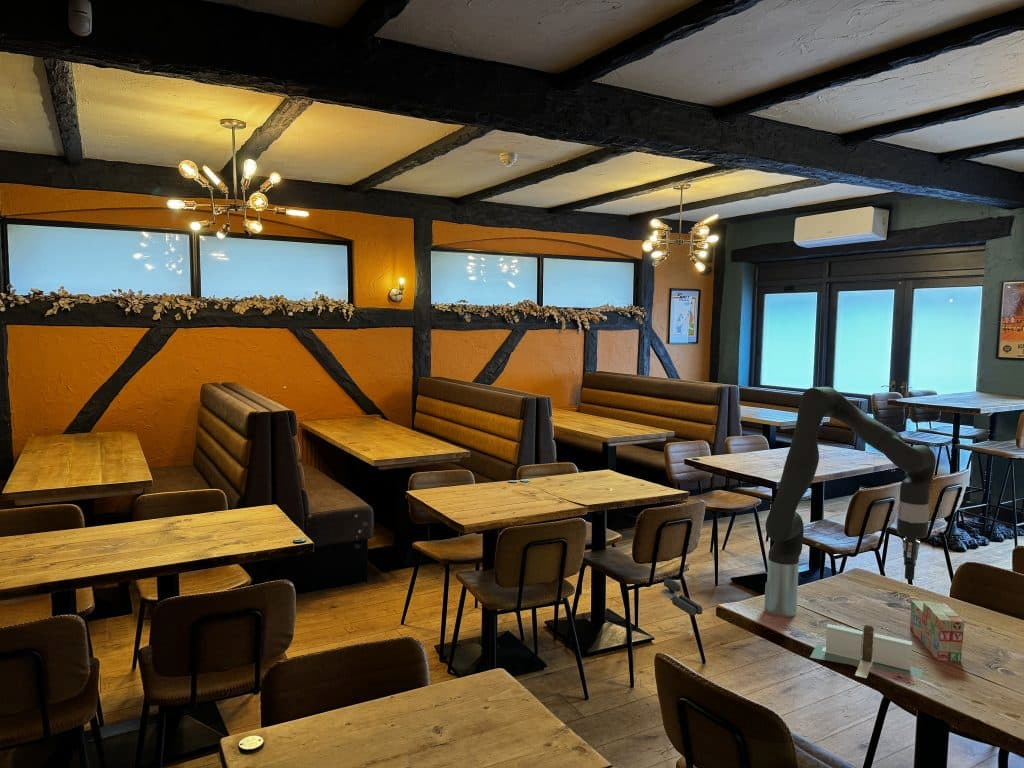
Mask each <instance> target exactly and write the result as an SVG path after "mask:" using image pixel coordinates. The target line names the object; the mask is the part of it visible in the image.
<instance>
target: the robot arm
mask: <svg viewBox="0 0 1024 768" xmlns="http://www.w3.org/2000/svg"><path fill="white" fill-rule="evenodd" d="M826 417H830V418H832V419H834V420H837V421H840V422H841V423H842V424H845V425H846V426H847V427H849V428H850V430H852V431H853V432H854V433H855V434H856V437H858V438H859V439H860V440H861V441H863V442H864V443H866V445H868V446H870V447H871V448H873V449H875V450H876V451H878V452H879V453H881V454H883V455H884V456H885V457H886V458H887V459H888V460H889V461H890V462H891V463H892V464H893V465H895V467H897V468H899V469H900V470H902V471H904V472H906V473H907V474H906V478H904V479H903V480H902V481H901V483H900V486H899V502H898V508H897V516H896V517H897V518H896V519H897V520H896V533H897V534H898V535H900V536H904V537H906V538H903V541H902V549H903V551H902V554H903V555H902V556H903V565H904V578H905V580H910V581H913V580H914V579H915V572H916V571H915V570H916V565H917V559H918V556H919V549H920V546H921V540H918V538H919V539H924V538H927V537H928V536H929V535H928V534H929V533H928V532H929V519H930V518H929V517H930V509H929V508H930V506H929V500H930V486H931V483H932V481H933V476H934V474H935V473H934V472H935V469H936V462H937V461H936V455H935V453H934V451H933V449H931V448H930V447H929V446H927V445H921V444H919V445H913V446H911V445H909V444H907V443H906V442H905V441H903V436H902V435H901V434H899V433H898V432H897V431H895V430H893V429H892V428H890V427H888V426H886V425H885V424H883V423H882V422H879V421H878V420H877V419H875V418H873V417H871V416H870V415H868V414H866V413H865V412H864V411H862V410H861V409H860V408H858V406H856V405H854V404H853V403H852V402H850V400H848V399H847V398H846V397H845V396H844V395H843V394H842V393H840V392H839V391H838V390H836V389H835V388H834V387H830V386H813V387H810V388H808V389H806V390H805V391H804V392H803V393H802V395H801V397H800V400H799V406H798V412H797V418H796V424H795V427H794V432H793V435H792V438H791V442H790V446H789V450H788V452H787V456H786V459H785V461H784V464H783V465H784V466H783V471H782V475H781V477H780V480H779V484H778V487H777V491H776V495H775V498H774V501H773V502H772V505H771V507H770V510H769V513H768V514H767V517H766V520H765V526H764V527H765V532H766V535H767V536H768V538H769V539H770V540H771V541H773V544H772V546H771V547H770V548H769V550H768V555H767V556H768V558H767V559H768V560H767V578H766V579H767V581H766V582H765V584H764V585H765V587H764V607H763V609H764V612H767V613H768V614H770V615H774V616H776V617H780V618H781V617H782V618H791V617H795V616H796V615H797V608H798V605H797V604H798V588H799V587H798V586H799V585H798V584H799V563H800V556H801V554H802V550H803V543H804V534H805V533H804V532H805V530H804V529H805V527H804V521H803V518H802V516H801V515H800V513H798V512H797V508H798V506H799V503H800V502H801V500H802V499H803V497H804V496H805V494H806V493H807V491H808V490H809V488H810V486H811V485H812V482H813V481H814V479H815V477H816V476H815V475H816V473H817V468H818V466H819V462H820V461H819V460H820V452H819V445H818V435H819V430H820V426H821V424H822V421H823V419H824V418H826Z"/></svg>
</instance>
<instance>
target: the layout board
mask: <svg viewBox="0 0 1024 768" xmlns="http://www.w3.org/2000/svg"><path fill="white" fill-rule="evenodd" d="M809 658H811V659H817V660H823V661H829V662H834V663H838V664H846V665H852V666H856V667H857V669H856V671H855V674H854V676H856V677H860V678H864V679H867V677H868V676H869V673H870V669H874V670H878V671H879V670H880V671H886V672H891V673H897V674H902V675H908V676H913V677H919V678H922V677H923V674H924V669H920V668H917V667H913V666H910V671H909V670H905V669H901V668H897V667H893V666H889V665H885V664H881V663H876V662H872V661H873V657H872V661H871V662H867V661H864V660H862V657H861V660H860V659H856V658H852V657H848V656H843V655H839V654H835V653H831V652H827V651H826V645H822V644H816V645H815V647H814V649H813V651H812V653H811V655H810V657H809Z"/></svg>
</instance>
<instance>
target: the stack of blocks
mask: <svg viewBox="0 0 1024 768" xmlns="http://www.w3.org/2000/svg"><path fill="white" fill-rule="evenodd" d="M964 628H965V621H964V620H963V619H962V618H961V617H960V615H959V614H958V613H956V612H955V611H954V610H953V609H952V608H951V607H950V606H949V605H947V604H946V603H938V602H933V601H929V600H928V601H927V600H913V599H911V600H910V623H909V629H910V630H911V631H912V632H913V634H914V635H915V637H916V638H917V639H918V640H919V641H920V642H921V643H922V644H923V645H924V646H925V647H926V648H927V650H928V651H929V652H930V653H931V654H932V656H933V657H934V658H935V660H937V661H949V662H960V663H961V662H962V655H963V654H962V651H963V643H964V642H963V641H964V630H965V629H964Z"/></svg>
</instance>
